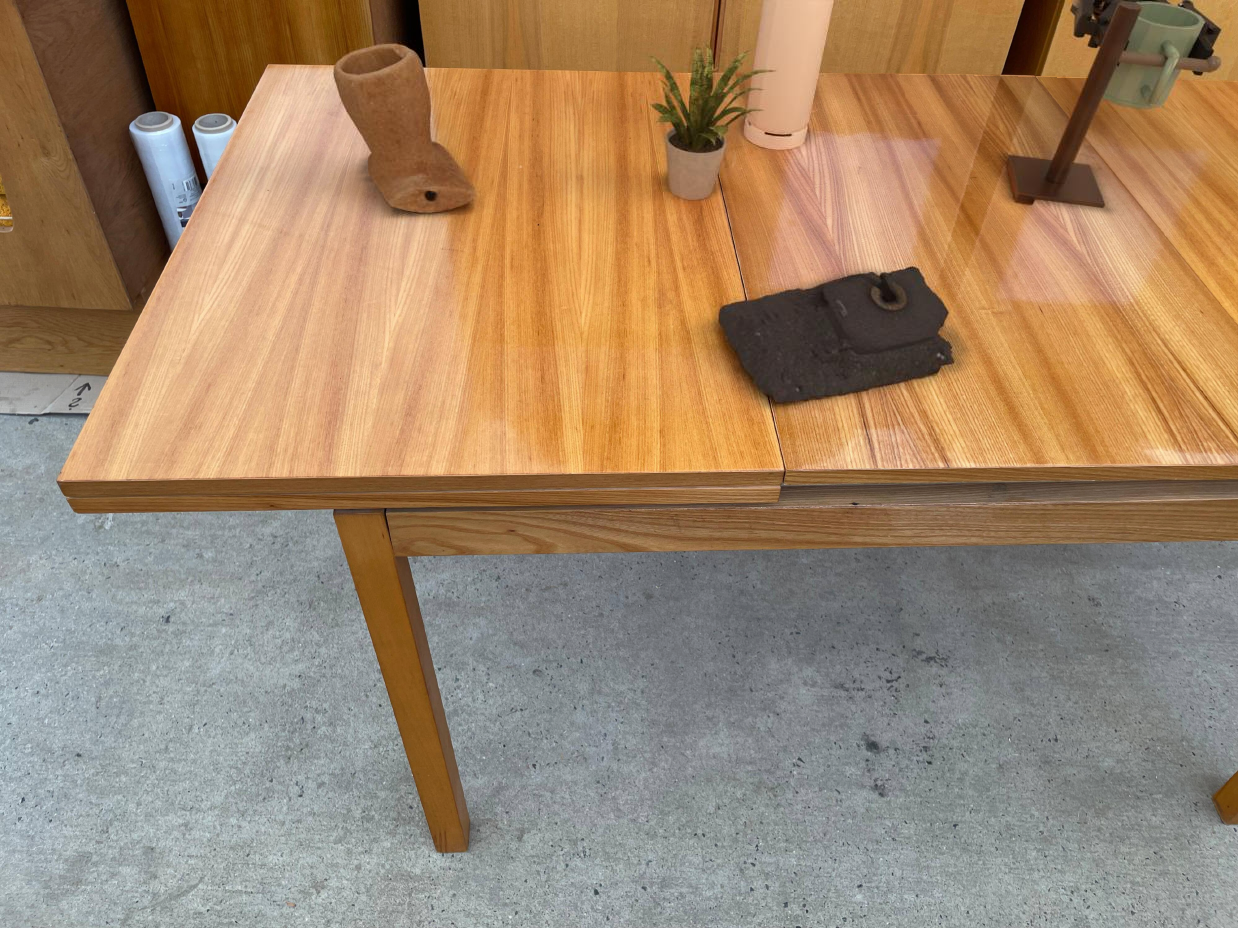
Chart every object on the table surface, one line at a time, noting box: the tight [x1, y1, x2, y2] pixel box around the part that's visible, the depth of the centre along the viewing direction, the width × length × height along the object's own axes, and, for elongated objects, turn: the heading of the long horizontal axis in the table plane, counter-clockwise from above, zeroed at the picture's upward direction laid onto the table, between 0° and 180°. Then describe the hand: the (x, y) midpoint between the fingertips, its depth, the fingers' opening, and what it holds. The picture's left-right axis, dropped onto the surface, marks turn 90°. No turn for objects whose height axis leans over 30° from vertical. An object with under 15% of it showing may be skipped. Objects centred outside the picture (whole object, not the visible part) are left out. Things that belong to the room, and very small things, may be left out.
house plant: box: [646, 39, 779, 201], centre depth 99 cm, size 14×14×16 cm
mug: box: [1102, 1, 1205, 110], centre depth 101 cm, size 12×8×9 cm
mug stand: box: [1005, 1, 1222, 209], centre depth 102 cm, size 17×10×21 cm, turn 80°
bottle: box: [743, 0, 835, 151], centre depth 106 cm, size 8×8×28 cm
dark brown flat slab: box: [717, 266, 956, 403], centre depth 85 cm, size 15×22×5 cm
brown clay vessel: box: [332, 43, 477, 214], centre depth 97 cm, size 15×12×15 cm
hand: (1162, 58), depth 98 cm, fingers closed on mug, 8 cm apart
